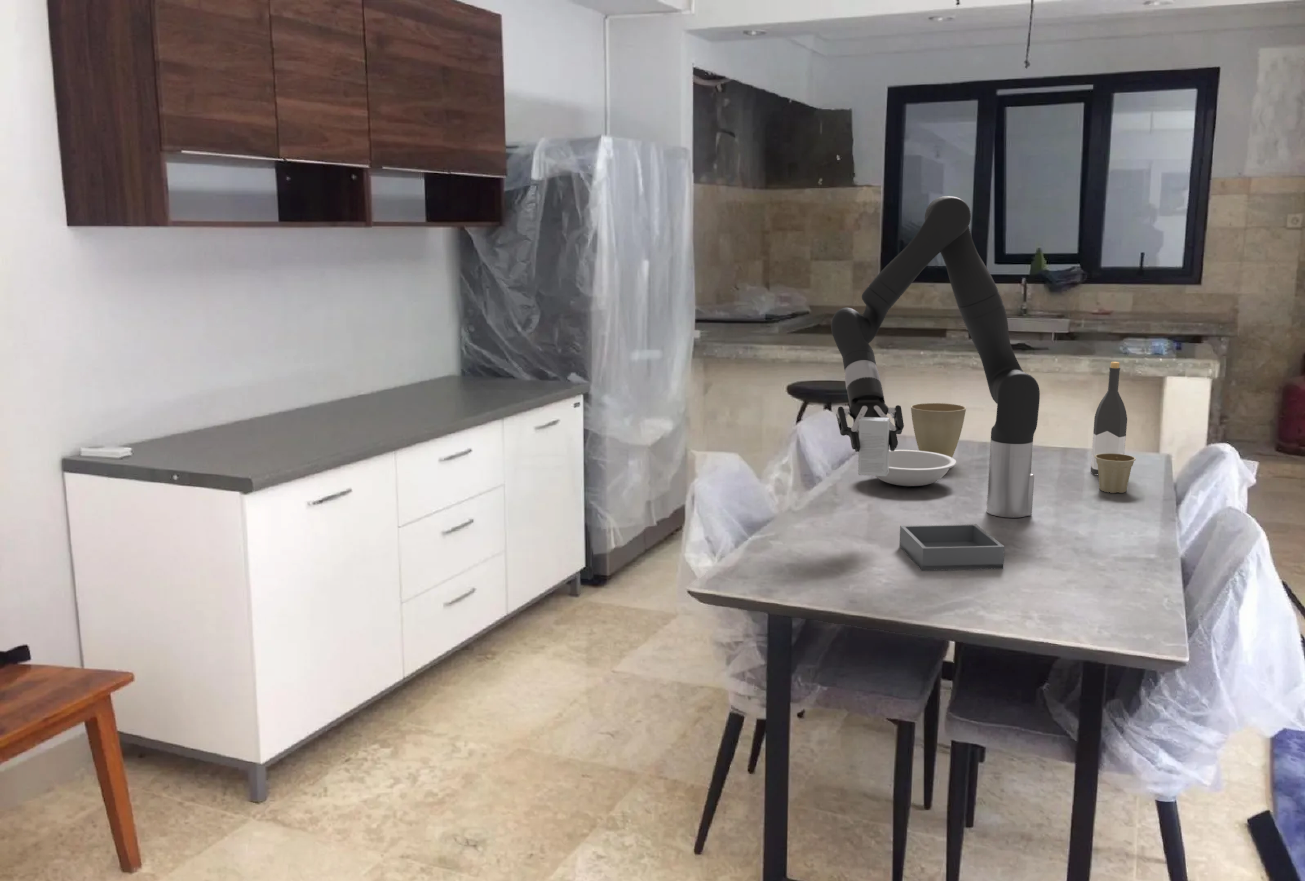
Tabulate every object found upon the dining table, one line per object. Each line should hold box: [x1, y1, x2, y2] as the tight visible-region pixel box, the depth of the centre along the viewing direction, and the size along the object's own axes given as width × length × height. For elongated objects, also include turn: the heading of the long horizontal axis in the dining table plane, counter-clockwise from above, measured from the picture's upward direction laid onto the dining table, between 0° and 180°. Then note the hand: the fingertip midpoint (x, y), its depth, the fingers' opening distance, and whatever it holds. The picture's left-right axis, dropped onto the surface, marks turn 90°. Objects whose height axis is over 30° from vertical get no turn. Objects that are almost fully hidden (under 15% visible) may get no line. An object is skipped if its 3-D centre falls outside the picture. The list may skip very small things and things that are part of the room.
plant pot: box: [910, 402, 967, 458], centre depth 298 cm, size 15×15×16 cm
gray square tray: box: [898, 523, 1005, 572], centre depth 214 cm, size 16×16×4 cm
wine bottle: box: [1090, 361, 1128, 475], centre depth 282 cm, size 8×8×30 cm
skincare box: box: [857, 417, 890, 477], centre depth 226 cm, size 6×4×12 cm
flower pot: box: [1095, 453, 1137, 494], centre depth 266 cm, size 9×9×9 cm
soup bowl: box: [875, 449, 957, 487], centre depth 275 cm, size 24×24×7 cm
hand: (875, 449), depth 225 cm, fingers closed on skincare box, 7 cm apart
